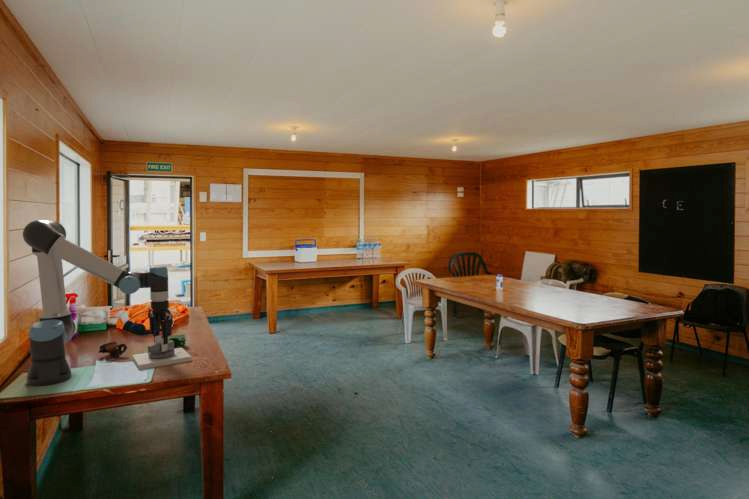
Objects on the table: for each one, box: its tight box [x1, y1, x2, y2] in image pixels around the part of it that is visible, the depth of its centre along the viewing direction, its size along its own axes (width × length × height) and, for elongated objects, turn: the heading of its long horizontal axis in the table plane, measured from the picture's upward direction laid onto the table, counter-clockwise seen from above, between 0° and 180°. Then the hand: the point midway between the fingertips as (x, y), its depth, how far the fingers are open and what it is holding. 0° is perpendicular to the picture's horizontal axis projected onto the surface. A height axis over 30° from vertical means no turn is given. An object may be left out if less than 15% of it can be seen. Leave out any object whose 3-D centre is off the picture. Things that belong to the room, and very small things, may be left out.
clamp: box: [168, 333, 187, 348], centre depth 242 cm, size 12×6×9 cm, turn 112°
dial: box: [147, 340, 175, 359], centre depth 222 cm, size 11×11×6 cm
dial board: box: [131, 347, 192, 370], centre depth 222 cm, size 22×18×2 cm
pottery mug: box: [98, 341, 128, 361], centre depth 227 cm, size 12×10×8 cm
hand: (161, 350), depth 222 cm, fingers closed on dial, 3 cm apart
